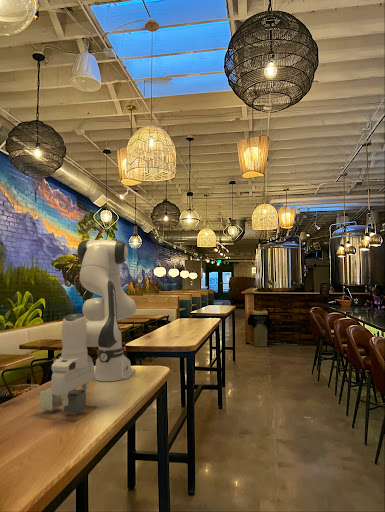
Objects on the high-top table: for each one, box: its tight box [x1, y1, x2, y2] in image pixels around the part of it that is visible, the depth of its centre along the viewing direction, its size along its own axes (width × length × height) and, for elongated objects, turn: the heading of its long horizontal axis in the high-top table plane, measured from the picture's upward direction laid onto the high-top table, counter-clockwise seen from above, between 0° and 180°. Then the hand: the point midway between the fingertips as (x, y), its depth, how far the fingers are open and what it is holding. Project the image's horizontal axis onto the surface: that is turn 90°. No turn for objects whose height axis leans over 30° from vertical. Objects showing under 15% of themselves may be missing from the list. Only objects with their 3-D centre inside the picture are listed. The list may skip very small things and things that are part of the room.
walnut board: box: [28, 402, 99, 423], centre depth 131 cm, size 15×19×1 cm
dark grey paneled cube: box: [64, 389, 87, 413], centre depth 129 cm, size 5×5×6 cm
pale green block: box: [39, 387, 63, 413], centre depth 132 cm, size 5×5×8 cm
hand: (74, 400), depth 129 cm, fingers open, 8 cm apart
